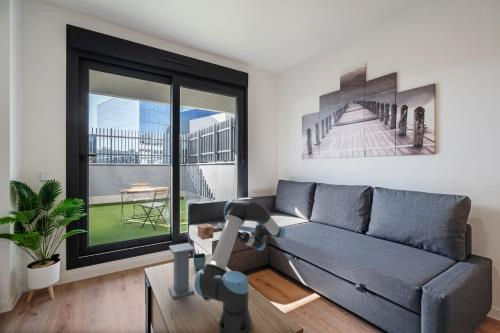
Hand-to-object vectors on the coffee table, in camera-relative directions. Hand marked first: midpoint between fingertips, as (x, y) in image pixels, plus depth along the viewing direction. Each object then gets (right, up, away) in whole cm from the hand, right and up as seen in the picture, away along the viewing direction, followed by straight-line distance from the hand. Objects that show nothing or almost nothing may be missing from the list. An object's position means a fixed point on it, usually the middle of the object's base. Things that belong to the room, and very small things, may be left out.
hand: (219, 225), depth 148 cm
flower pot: (-17, -36, +19) cm, 44 cm away
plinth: (-21, -36, -12) cm, 43 cm away
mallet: (-1, -6, -1) cm, 6 cm away
